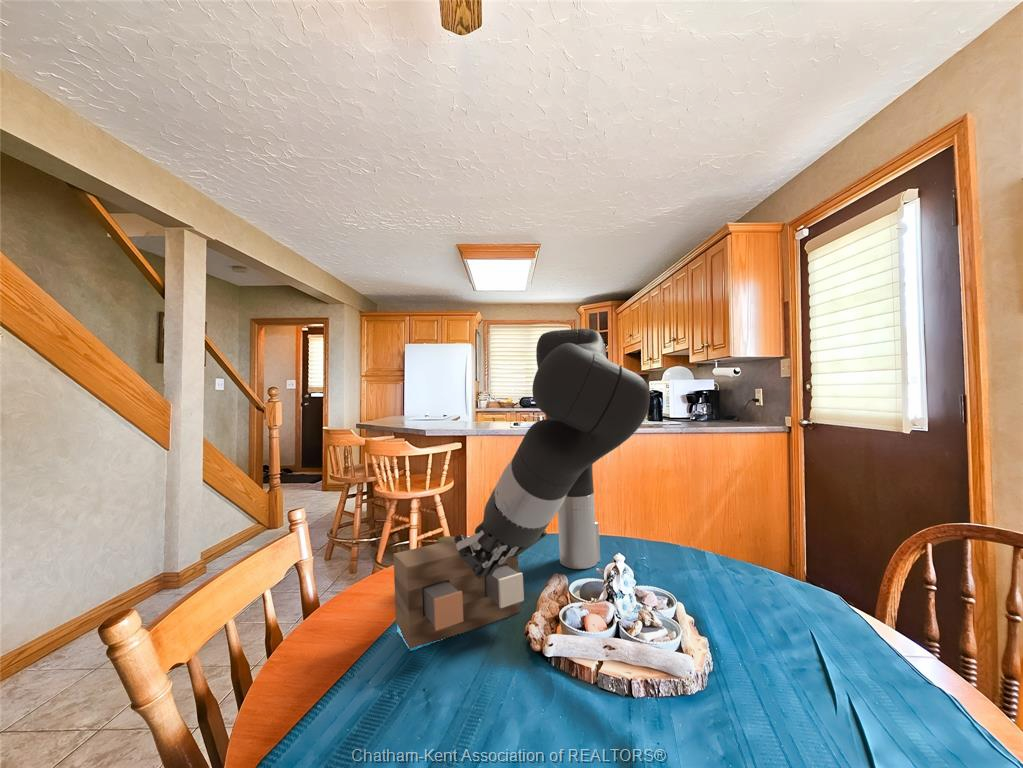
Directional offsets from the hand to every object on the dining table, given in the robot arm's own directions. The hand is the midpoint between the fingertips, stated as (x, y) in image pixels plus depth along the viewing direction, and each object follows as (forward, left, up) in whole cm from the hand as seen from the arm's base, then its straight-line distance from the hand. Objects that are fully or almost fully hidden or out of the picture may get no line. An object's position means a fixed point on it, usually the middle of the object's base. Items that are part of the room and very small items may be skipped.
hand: (481, 570), depth 59 cm
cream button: (-12, -17, -13) cm, 24 cm away
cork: (-10, -37, -18) cm, 42 cm away
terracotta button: (0, -17, -13) cm, 21 cm away
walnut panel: (-6, -22, -18) cm, 29 cm away
